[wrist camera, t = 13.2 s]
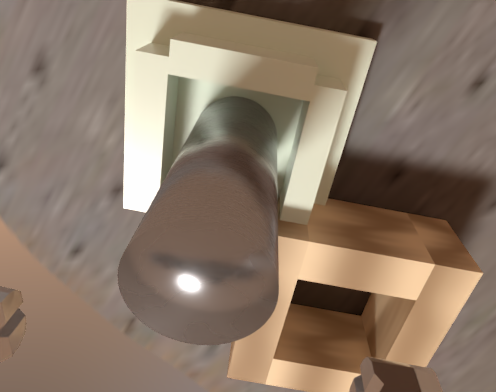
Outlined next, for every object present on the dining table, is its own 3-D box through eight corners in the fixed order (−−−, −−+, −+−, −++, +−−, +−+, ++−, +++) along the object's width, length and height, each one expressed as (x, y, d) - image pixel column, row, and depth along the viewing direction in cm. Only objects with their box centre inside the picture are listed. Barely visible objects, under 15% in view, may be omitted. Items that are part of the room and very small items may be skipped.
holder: (372, 38, 19) (390, 49, 16) (312, 233, 25) (316, 268, 22) (133, -9, 19) (106, -6, 16) (128, 200, 25) (107, 230, 22)
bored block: (446, 220, 24) (483, 273, 20) (382, 344, 30) (400, 407, 25) (263, 186, 24) (260, 232, 19) (234, 318, 29) (227, 377, 25)
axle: (284, 105, 20) (295, 238, 10) (268, 180, 22) (262, 355, 12) (199, 88, 20) (118, 207, 10) (190, 166, 22) (117, 331, 12)
